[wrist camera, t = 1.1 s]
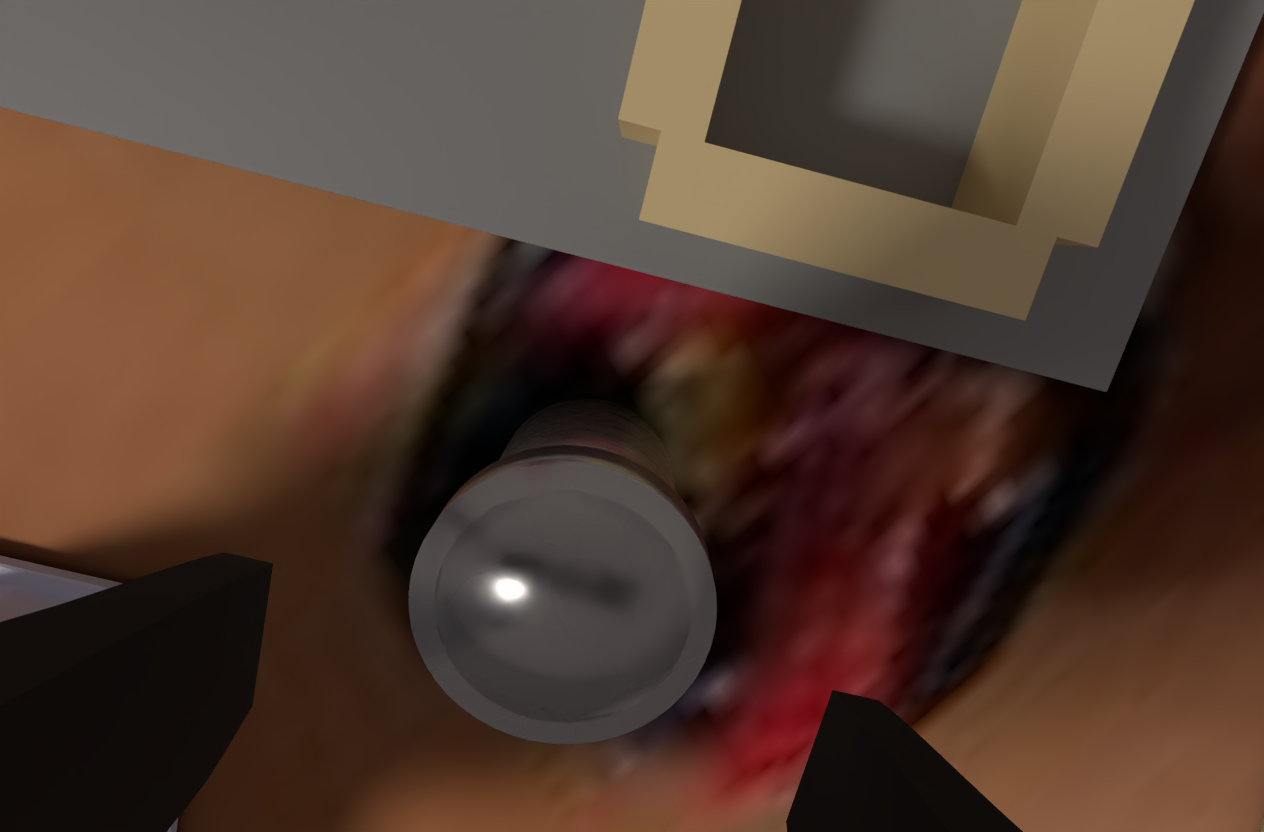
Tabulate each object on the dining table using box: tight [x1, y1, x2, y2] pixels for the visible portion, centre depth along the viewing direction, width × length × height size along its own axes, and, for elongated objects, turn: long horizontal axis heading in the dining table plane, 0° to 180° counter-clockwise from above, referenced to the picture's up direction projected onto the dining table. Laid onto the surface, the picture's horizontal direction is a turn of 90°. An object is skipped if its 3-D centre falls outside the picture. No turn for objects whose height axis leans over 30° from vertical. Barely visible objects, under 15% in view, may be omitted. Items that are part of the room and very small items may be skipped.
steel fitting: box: [409, 398, 717, 744], centre depth 15 cm, size 5×5×6 cm
